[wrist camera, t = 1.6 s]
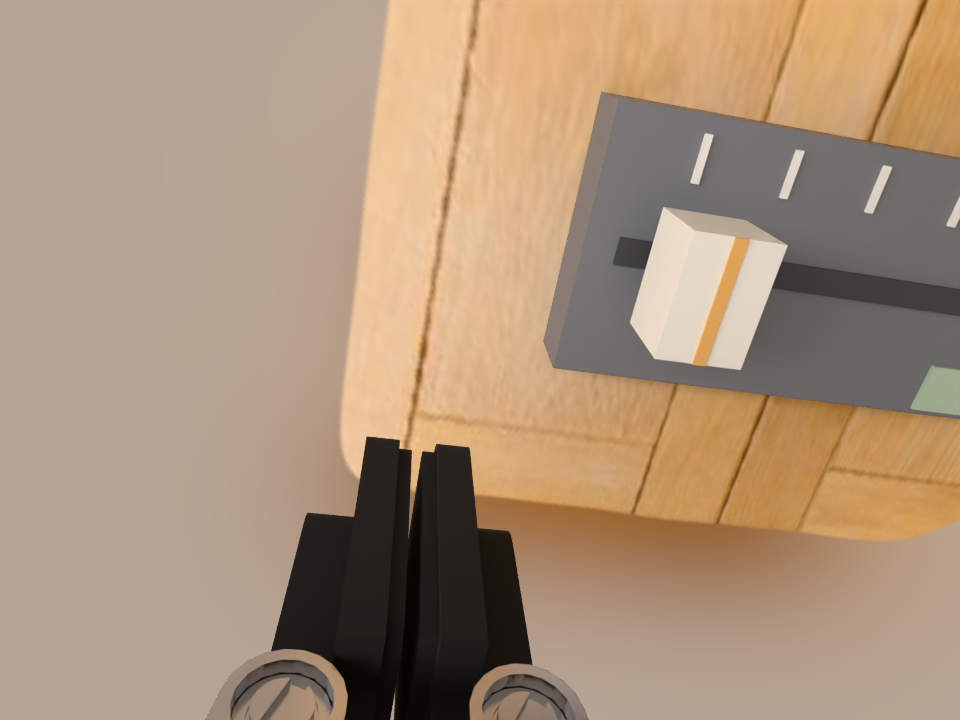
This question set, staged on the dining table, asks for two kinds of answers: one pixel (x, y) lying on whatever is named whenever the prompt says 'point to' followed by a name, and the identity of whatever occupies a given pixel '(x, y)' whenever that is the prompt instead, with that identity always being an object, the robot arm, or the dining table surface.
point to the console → (804, 268)
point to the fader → (705, 288)
